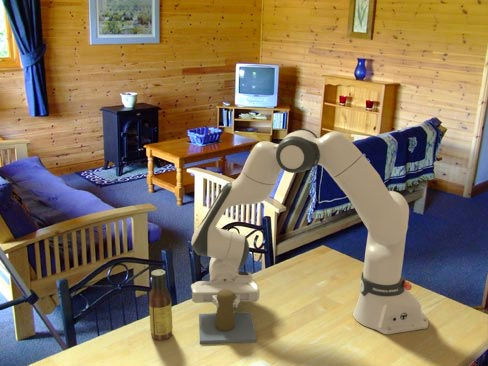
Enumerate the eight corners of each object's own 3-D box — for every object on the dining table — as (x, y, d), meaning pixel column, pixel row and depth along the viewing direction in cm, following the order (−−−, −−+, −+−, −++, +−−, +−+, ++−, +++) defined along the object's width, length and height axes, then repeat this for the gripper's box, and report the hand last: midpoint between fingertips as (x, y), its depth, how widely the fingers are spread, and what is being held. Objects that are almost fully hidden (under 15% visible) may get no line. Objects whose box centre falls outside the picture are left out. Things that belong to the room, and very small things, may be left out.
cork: (233, 331, 153) (234, 298, 150) (213, 329, 154) (213, 296, 150) (236, 320, 159) (237, 287, 156) (216, 318, 160) (217, 285, 156)
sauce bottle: (176, 333, 154) (176, 271, 148) (162, 343, 149) (161, 280, 143) (159, 326, 157) (158, 265, 151) (145, 336, 152) (143, 273, 146)
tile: (250, 315, 164) (251, 312, 164) (256, 342, 151) (256, 339, 151) (198, 316, 163) (199, 313, 163) (199, 343, 150) (199, 340, 149)
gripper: (190, 273, 165) (191, 296, 152) (256, 272, 167) (262, 295, 154) (190, 291, 167) (190, 316, 154) (255, 290, 169) (261, 314, 156)
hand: (227, 305), depth 154 cm, fingers closed on cork, 3 cm apart
